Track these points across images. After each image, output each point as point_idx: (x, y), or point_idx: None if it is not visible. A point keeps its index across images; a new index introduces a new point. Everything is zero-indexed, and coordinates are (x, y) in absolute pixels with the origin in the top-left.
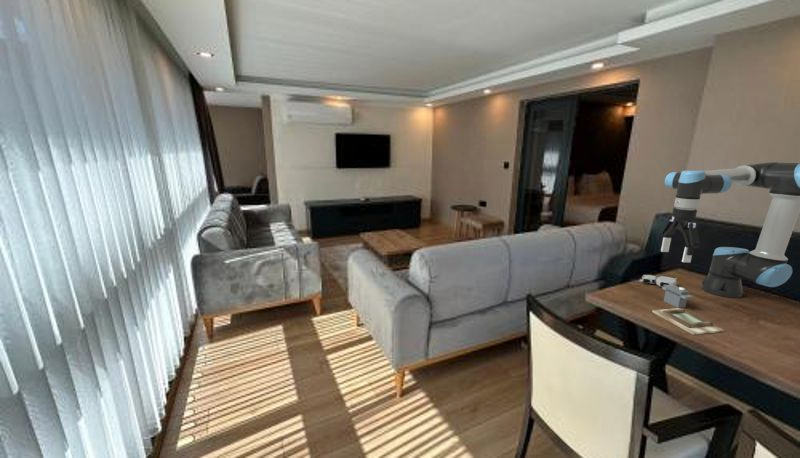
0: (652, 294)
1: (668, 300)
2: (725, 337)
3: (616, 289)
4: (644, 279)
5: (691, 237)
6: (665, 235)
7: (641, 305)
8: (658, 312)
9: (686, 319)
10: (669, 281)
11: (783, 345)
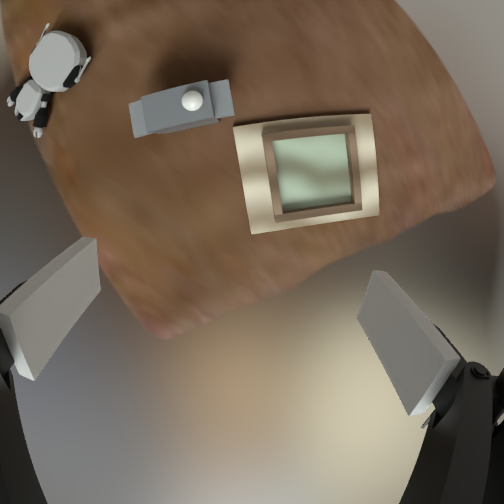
0: (118, 140)
1: (180, 129)
2: (392, 139)
3: None
4: (38, 125)
5: (493, 490)
6: (14, 396)
7: (205, 234)
8: (265, 224)
9: (315, 173)
10: (65, 58)
11: (417, 42)
